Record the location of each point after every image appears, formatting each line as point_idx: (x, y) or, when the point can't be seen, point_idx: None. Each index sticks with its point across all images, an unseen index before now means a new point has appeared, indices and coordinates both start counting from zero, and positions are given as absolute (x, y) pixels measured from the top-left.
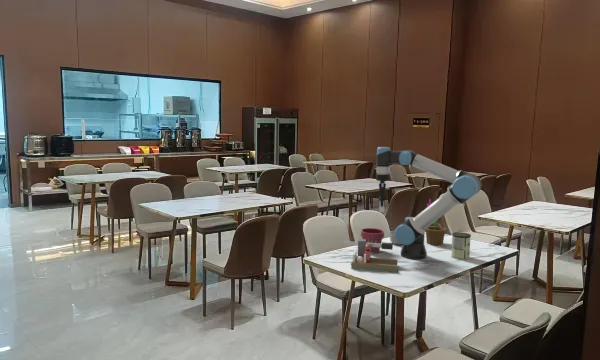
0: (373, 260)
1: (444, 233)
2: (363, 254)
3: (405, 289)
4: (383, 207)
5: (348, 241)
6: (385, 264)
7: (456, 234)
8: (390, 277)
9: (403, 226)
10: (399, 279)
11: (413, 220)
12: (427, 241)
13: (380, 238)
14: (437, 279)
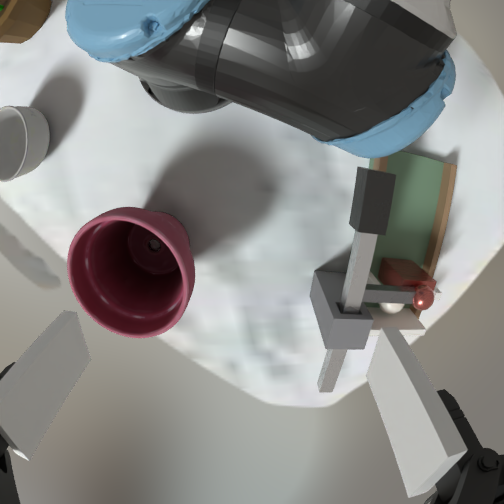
0: None
1: None
2: None
3: None
4: (418, 376)
5: (327, 377)
6: (398, 198)
7: None
8: (480, 193)
9: (439, 100)
10: (491, 168)
11: (443, 3)
12: (26, 35)
13: (173, 226)
14: (473, 53)
